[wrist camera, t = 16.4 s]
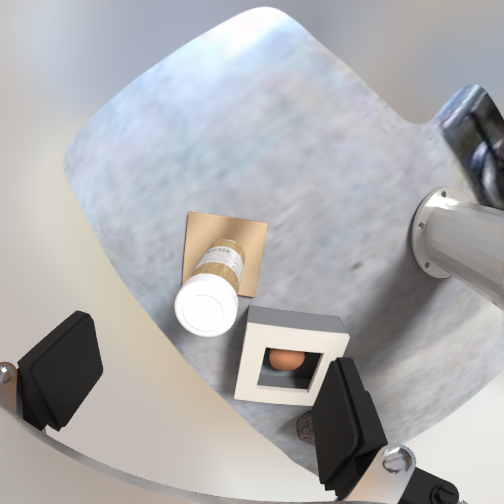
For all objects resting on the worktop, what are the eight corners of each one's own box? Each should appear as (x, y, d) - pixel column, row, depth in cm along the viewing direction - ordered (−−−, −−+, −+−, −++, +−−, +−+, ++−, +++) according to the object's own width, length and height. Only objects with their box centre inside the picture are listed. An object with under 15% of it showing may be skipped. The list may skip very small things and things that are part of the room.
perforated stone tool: (367, 420, 40) (377, 447, 34) (347, 435, 42) (354, 461, 35) (312, 397, 38) (318, 429, 32) (291, 414, 40) (294, 445, 33)
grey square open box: (339, 316, 34) (349, 337, 29) (315, 383, 37) (320, 405, 32) (249, 305, 34) (247, 325, 29) (236, 375, 37) (234, 398, 32)
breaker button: (306, 339, 35) (308, 346, 33) (298, 365, 36) (299, 372, 34) (272, 335, 34) (273, 342, 33) (266, 361, 36) (266, 369, 34)
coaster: (267, 223, 31) (267, 224, 30) (255, 295, 33) (254, 297, 33) (190, 211, 31) (188, 212, 30) (183, 283, 33) (182, 284, 33)
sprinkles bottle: (203, 269, 32) (169, 329, 19) (211, 233, 31) (177, 275, 18) (241, 279, 32) (228, 346, 19) (250, 243, 31) (243, 292, 18)
